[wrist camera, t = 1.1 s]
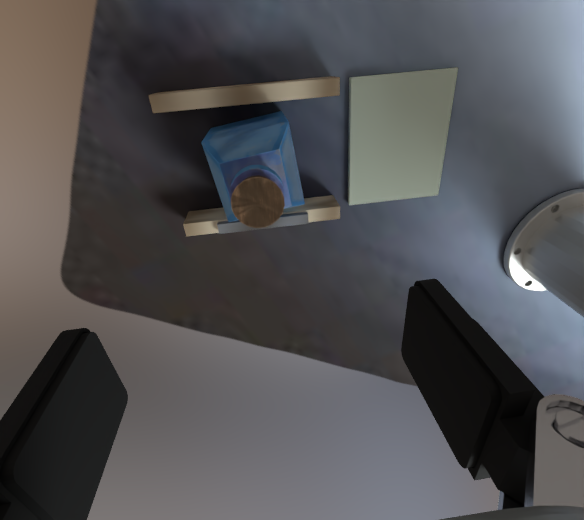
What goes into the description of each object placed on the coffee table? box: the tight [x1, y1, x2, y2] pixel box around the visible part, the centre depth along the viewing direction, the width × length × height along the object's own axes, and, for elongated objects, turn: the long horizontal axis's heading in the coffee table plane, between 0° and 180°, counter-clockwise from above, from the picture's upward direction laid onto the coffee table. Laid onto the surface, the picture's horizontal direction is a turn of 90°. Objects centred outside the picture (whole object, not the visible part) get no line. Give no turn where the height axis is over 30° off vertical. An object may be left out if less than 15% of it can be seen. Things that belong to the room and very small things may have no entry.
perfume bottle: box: [201, 111, 305, 228], centre depth 24 cm, size 6×6×12 cm
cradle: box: [148, 76, 340, 236], centre depth 28 cm, size 14×11×4 cm
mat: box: [348, 68, 458, 205], centre depth 30 cm, size 9×11×1 cm
